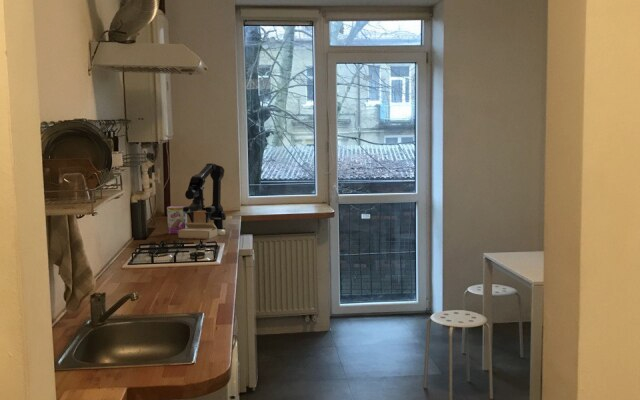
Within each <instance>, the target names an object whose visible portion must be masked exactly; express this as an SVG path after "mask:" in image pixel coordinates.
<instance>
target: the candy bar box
mask: <svg viewBox="0 0 640 400" xmlns="http://www.w3.org/2000/svg"><path fill="white" fill-rule="evenodd" d="M183 207H184V206H166V216H167V217H166V220H167V234H168V235H178V231H179V230H181V229H186V228H188V227H187V226H186V225H185V223H188V214H187V213H185V212H183Z"/></svg>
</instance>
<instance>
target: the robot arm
mask: <svg viewBox="0 0 640 400" xmlns="http://www.w3.org/2000/svg"><path fill="white" fill-rule="evenodd" d="M224 174H225V168H224V167H223V166H222V165H219V164H215V162H214V163H213V162H212V163H206V164H205V166H204V167H203V168H202V169H201V170H200V172H199V173H197V174H194V175H193V176H191V178H190V180H189V183H188V187H187V190H186V191H185V193H184V196H185V198H186V199H187V200H192V203H190V204H189V205H187V206H186V205H185V206H182V207H183V212H185V213H187V216H188V217H189V219H190V223H195V222H194V221H195V218H194V215H195V214H194V213H195V212H199V211H200V212H202V211H204V214H205V223H209V220H210V221H213V223H214V225H215V226H216V227H217V228H213V229H224V230H226V227H224V221H225V220H226V219H227V215H226V213H225V212H224V206H222V204H221V200H222V199H221V196H222V195H221V193H222V192H221V190H222V182H221V181H222V180H223V178H224ZM209 176H210V177H211V180H212V204H211V205H210V206H206V205H205V204H204V201H205V198H204V189H205V187H204V185H205V183H206V179H207V178H208V177H209ZM205 206H206V207H205Z"/></svg>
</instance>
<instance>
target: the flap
mask: <svg viewBox="0 0 640 400" xmlns="http://www.w3.org/2000/svg"><path fill="white" fill-rule="evenodd" d="M185 225H186V226H187V228H208V229H214V228H217V227H216V226H215V225H214V222H208V223H206V222H194V223H192V222H187V223H185Z"/></svg>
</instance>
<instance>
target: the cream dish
mask: <svg viewBox="0 0 640 400" xmlns="http://www.w3.org/2000/svg"><path fill="white" fill-rule="evenodd" d="M224 235H226V229H218V236H224Z"/></svg>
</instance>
